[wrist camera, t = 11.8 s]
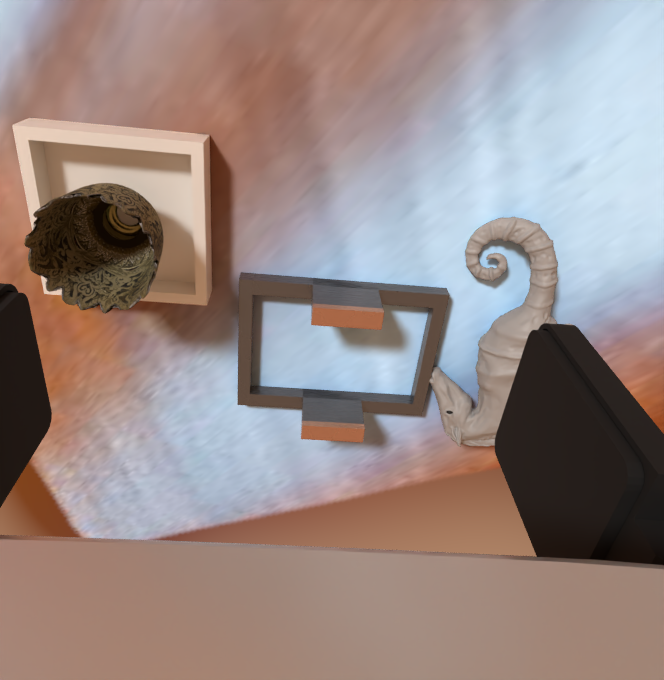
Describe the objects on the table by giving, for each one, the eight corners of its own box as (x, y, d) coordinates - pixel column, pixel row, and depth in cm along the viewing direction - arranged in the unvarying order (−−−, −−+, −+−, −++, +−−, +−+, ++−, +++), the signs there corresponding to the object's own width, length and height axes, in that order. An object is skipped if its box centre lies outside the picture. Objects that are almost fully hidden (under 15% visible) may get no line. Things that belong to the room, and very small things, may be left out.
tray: (209, 134, 37) (203, 143, 35) (212, 290, 43) (206, 305, 41) (29, 117, 36) (12, 125, 34) (57, 279, 42) (44, 293, 40)
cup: (156, 279, 42) (126, 334, 35) (59, 230, 40) (7, 278, 33) (199, 197, 39) (176, 239, 32) (97, 138, 37) (48, 170, 30)
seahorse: (409, 231, 40) (428, 460, 48) (584, 221, 36) (574, 473, 44) (423, 215, 45) (438, 427, 52) (580, 204, 40) (571, 436, 48)
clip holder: (446, 287, 44) (461, 318, 39) (419, 407, 50) (429, 445, 45) (240, 271, 42) (232, 301, 38) (239, 396, 49) (232, 435, 44)
